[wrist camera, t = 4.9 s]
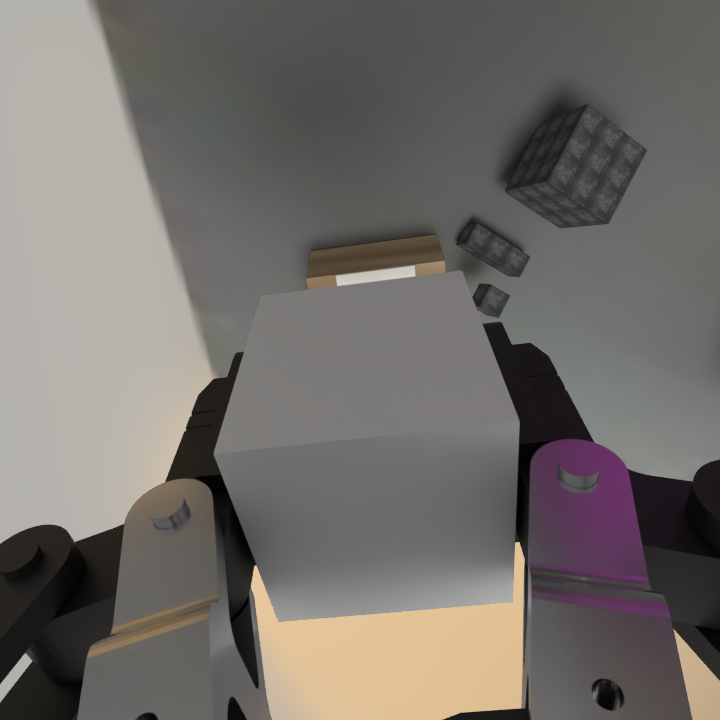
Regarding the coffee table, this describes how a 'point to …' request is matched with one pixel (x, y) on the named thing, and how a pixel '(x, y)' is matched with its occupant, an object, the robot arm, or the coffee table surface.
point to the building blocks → (559, 188)
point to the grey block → (373, 450)
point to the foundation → (375, 262)
